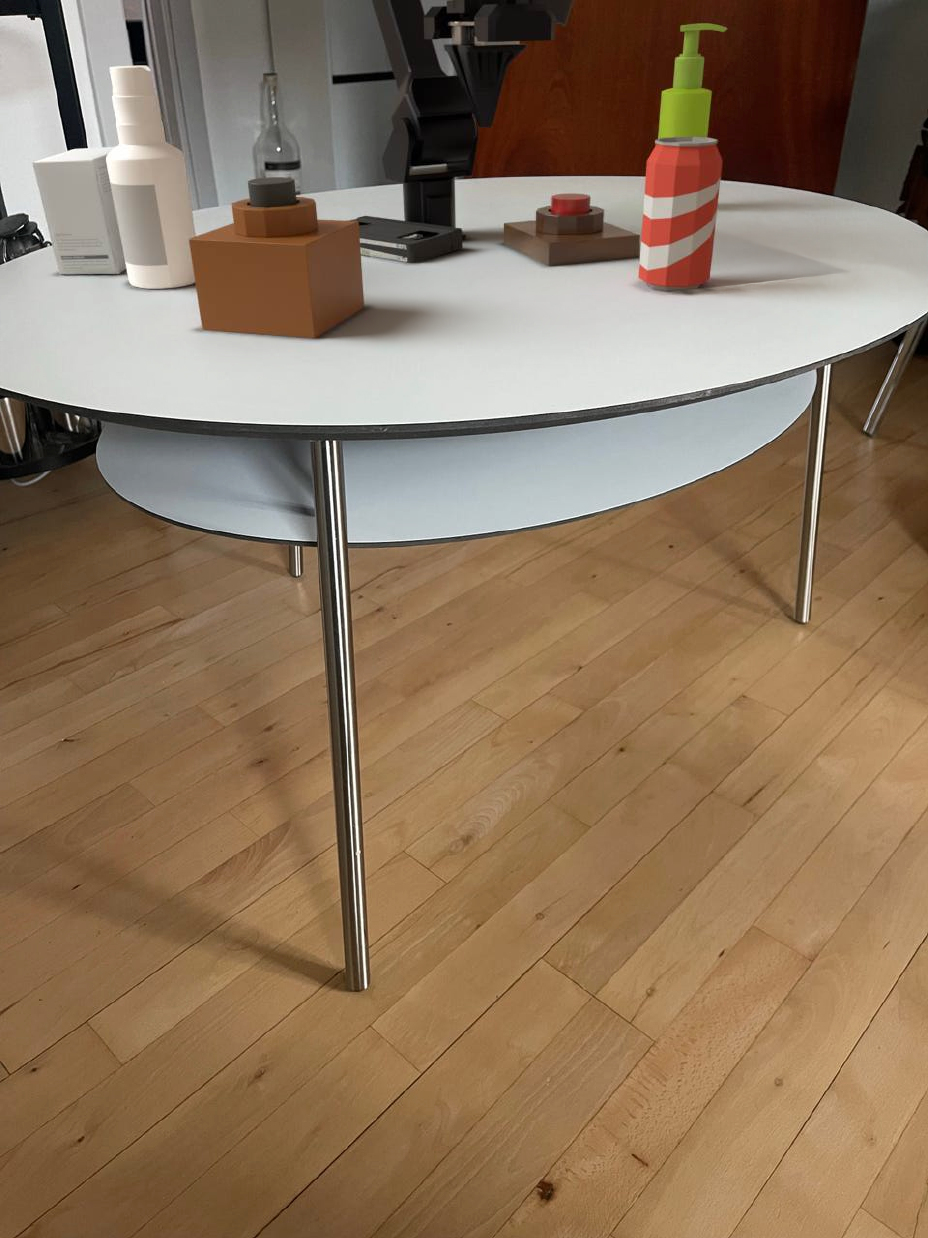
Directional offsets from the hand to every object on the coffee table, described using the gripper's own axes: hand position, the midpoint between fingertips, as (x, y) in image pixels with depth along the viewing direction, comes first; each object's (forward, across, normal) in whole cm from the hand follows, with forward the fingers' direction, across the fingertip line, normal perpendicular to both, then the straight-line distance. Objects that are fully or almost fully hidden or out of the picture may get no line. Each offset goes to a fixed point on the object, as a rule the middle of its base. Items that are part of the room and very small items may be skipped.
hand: (485, 127), depth 96 cm
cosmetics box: (+12, +13, +37) cm, 41 cm away
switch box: (+12, -1, -9) cm, 15 cm away
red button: (+8, -1, -9) cm, 12 cm away
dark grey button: (+3, -16, +24) cm, 29 cm away
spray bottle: (+12, +2, +32) cm, 34 cm away
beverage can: (+12, -19, -11) cm, 25 cm away
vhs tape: (+12, +8, +8) cm, 17 cm away
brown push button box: (+12, -16, +24) cm, 31 cm away
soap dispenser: (+12, +17, -33) cm, 39 cm away
